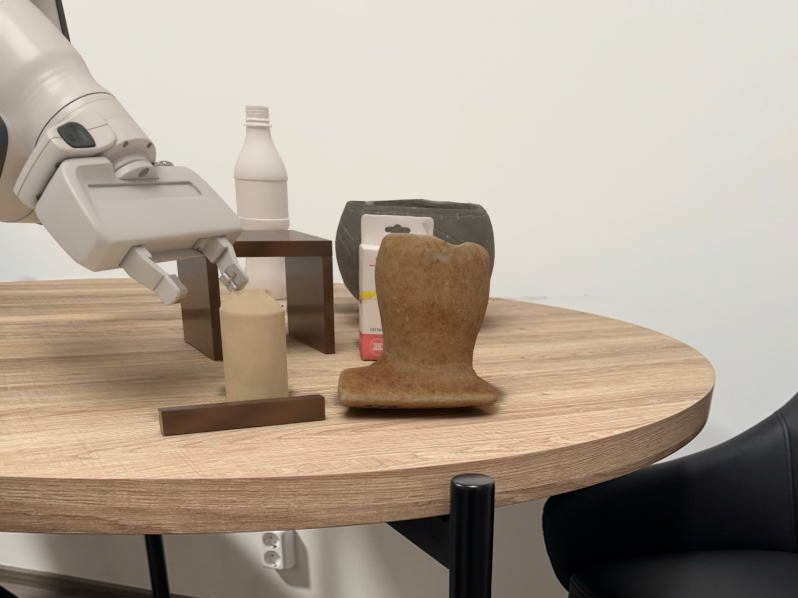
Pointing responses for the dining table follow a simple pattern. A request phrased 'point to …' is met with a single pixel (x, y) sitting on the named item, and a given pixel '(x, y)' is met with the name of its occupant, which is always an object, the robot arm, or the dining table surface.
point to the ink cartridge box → (368, 254)
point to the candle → (253, 346)
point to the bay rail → (241, 414)
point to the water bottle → (262, 199)
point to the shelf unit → (303, 289)
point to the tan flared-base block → (425, 327)
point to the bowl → (449, 225)
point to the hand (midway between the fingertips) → (211, 293)
